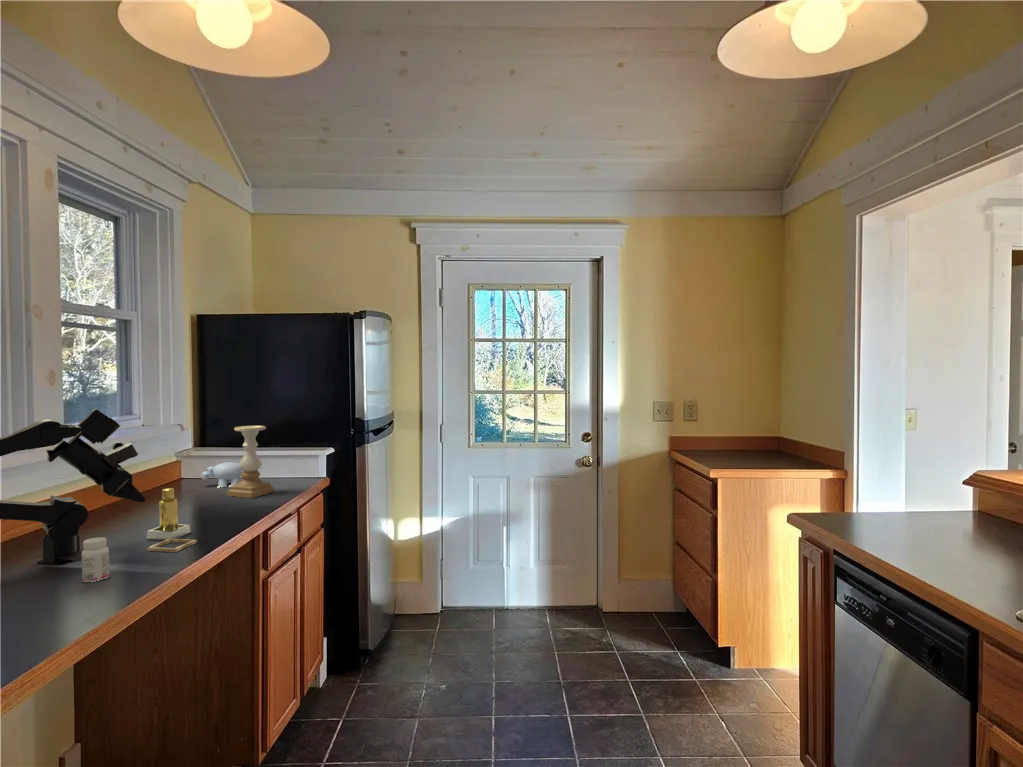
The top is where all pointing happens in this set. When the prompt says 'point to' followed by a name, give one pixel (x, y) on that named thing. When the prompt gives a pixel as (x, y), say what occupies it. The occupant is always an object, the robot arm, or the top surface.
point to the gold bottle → (168, 511)
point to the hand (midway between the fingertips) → (140, 497)
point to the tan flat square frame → (158, 548)
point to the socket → (168, 533)
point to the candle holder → (250, 467)
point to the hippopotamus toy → (224, 473)
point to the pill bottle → (95, 560)
